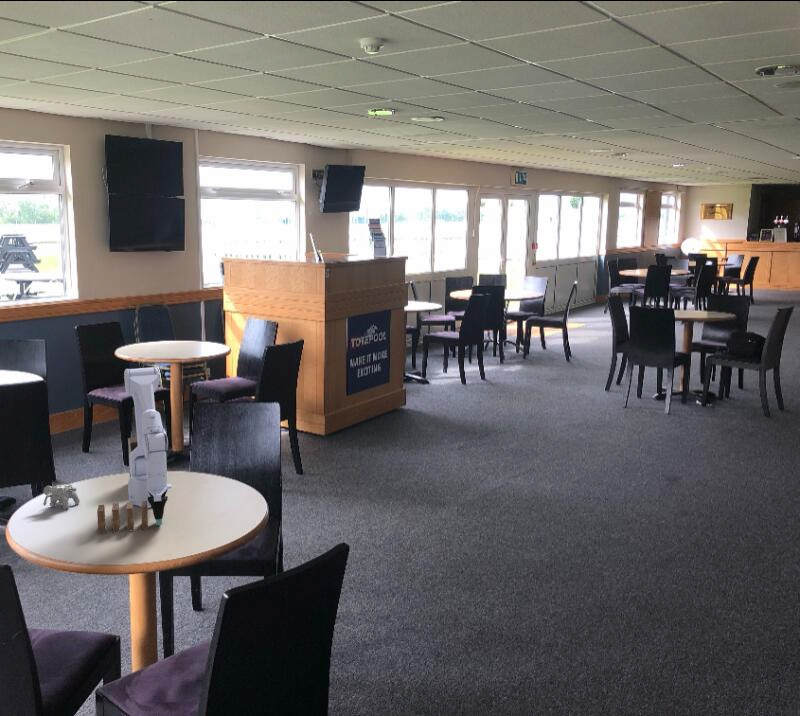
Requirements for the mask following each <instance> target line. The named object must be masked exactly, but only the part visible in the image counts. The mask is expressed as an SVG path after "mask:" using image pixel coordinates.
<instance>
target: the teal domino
mask: <svg viewBox="0 0 800 716" xmlns="http://www.w3.org/2000/svg"><path fill="white" fill-rule="evenodd" d="M155 525H156V526H160V525H163V518H162V519H156V520H155Z"/></svg>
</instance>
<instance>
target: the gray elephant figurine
mask: <svg viewBox="0 0 800 716" xmlns="http://www.w3.org/2000/svg"><path fill="white" fill-rule="evenodd" d="M77 490H78V489H77V488H76V487H75V486H73V485H72V484H70V483H69V484H68V483H67V484H66V483H65V484H57V485H55V486H51V485H46V486H45V487H44V488H43V494H44V495H45V497H44V501H43V506H44V507H45V506H46V505H47V501H48V498H50V499H49V500H50V502H49V506H50V508H54V507H55V505H56V503H57V502H60V503H61V505H62V509H63V510H68V509H70V503H69V502H68V501H69V499H72V501H73V502H74V504H75V505H79V504H80V501H81V500H80V498H79V495H78V494H77Z"/></svg>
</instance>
